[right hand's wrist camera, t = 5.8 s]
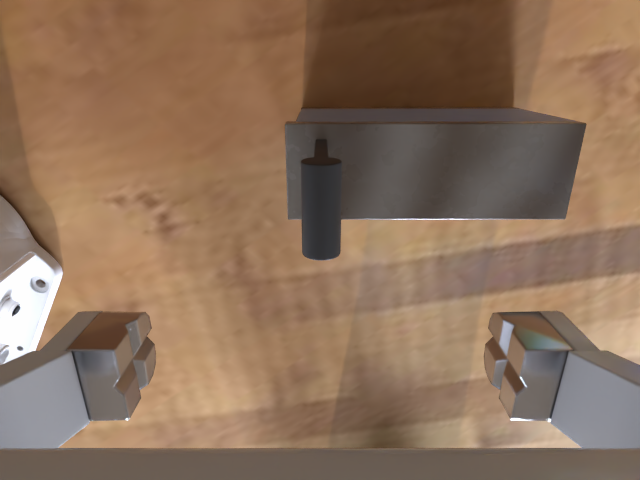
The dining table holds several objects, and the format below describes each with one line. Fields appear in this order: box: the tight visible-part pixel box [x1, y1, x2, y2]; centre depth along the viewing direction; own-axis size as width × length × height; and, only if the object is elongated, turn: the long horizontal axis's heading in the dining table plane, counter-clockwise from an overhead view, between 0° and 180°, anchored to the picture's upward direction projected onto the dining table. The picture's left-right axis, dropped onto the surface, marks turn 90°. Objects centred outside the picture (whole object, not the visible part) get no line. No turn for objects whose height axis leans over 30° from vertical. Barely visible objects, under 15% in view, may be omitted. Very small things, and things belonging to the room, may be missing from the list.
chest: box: [296, 107, 573, 122], centre depth 31 cm, size 17×6×9 cm, turn 90°
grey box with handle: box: [285, 121, 586, 260], centre depth 23 cm, size 17×6×9 cm, turn 90°
